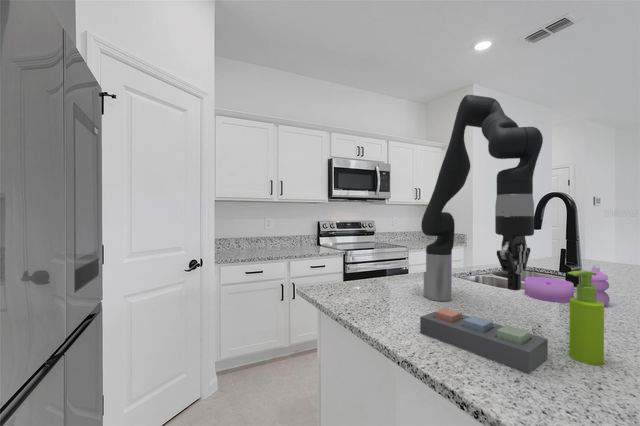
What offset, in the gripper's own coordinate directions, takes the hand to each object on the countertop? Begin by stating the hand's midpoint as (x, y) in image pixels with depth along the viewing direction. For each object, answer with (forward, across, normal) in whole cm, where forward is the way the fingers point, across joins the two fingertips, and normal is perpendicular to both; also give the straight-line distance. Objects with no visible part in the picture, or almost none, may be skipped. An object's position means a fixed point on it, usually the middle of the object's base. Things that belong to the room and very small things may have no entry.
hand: (514, 289), depth 69 cm
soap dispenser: (+16, -12, +10) cm, 22 cm away
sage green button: (+13, 0, 0) cm, 13 cm away
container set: (+16, -66, -8) cm, 69 cm away
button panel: (+16, 0, -8) cm, 18 cm away
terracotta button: (+12, 0, -16) cm, 20 cm away
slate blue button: (+12, 0, -8) cm, 15 cm away
